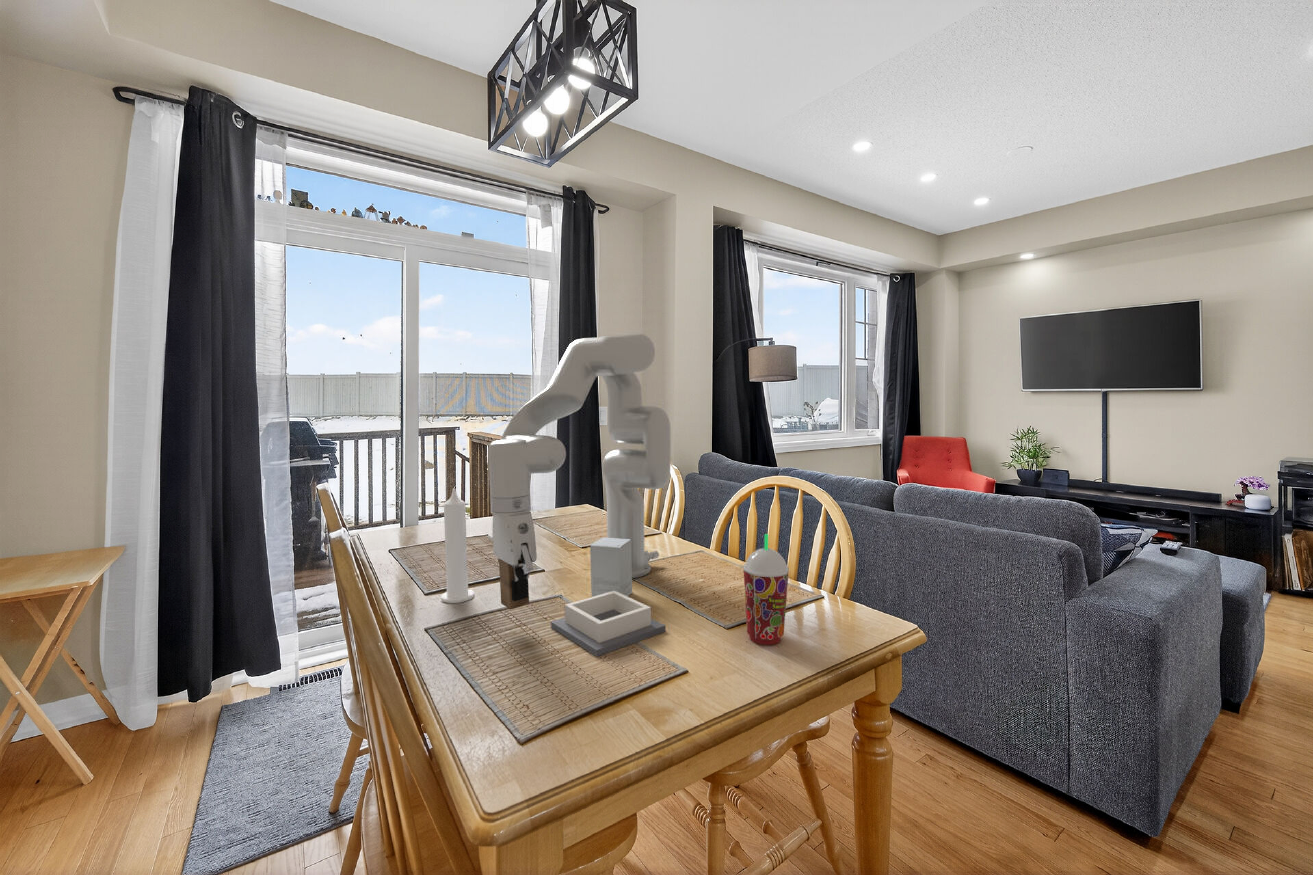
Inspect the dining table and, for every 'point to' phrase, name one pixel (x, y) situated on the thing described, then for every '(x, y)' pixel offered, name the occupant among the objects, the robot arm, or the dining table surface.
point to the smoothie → (765, 595)
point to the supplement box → (611, 566)
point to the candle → (456, 551)
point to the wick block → (509, 586)
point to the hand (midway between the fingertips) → (514, 594)
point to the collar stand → (607, 622)
